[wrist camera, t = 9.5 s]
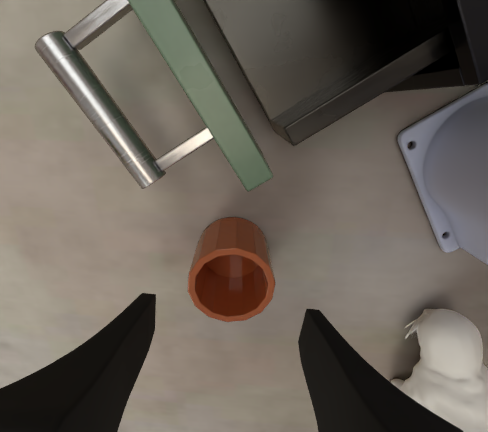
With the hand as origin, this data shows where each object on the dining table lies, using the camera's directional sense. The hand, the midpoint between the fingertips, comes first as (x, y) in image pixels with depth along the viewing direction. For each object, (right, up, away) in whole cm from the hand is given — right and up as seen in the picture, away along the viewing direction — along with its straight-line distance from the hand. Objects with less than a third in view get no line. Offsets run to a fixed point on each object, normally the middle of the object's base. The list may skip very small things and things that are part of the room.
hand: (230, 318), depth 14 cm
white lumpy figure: (+16, -6, +11) cm, 20 cm away
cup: (0, +3, +7) cm, 7 cm away
